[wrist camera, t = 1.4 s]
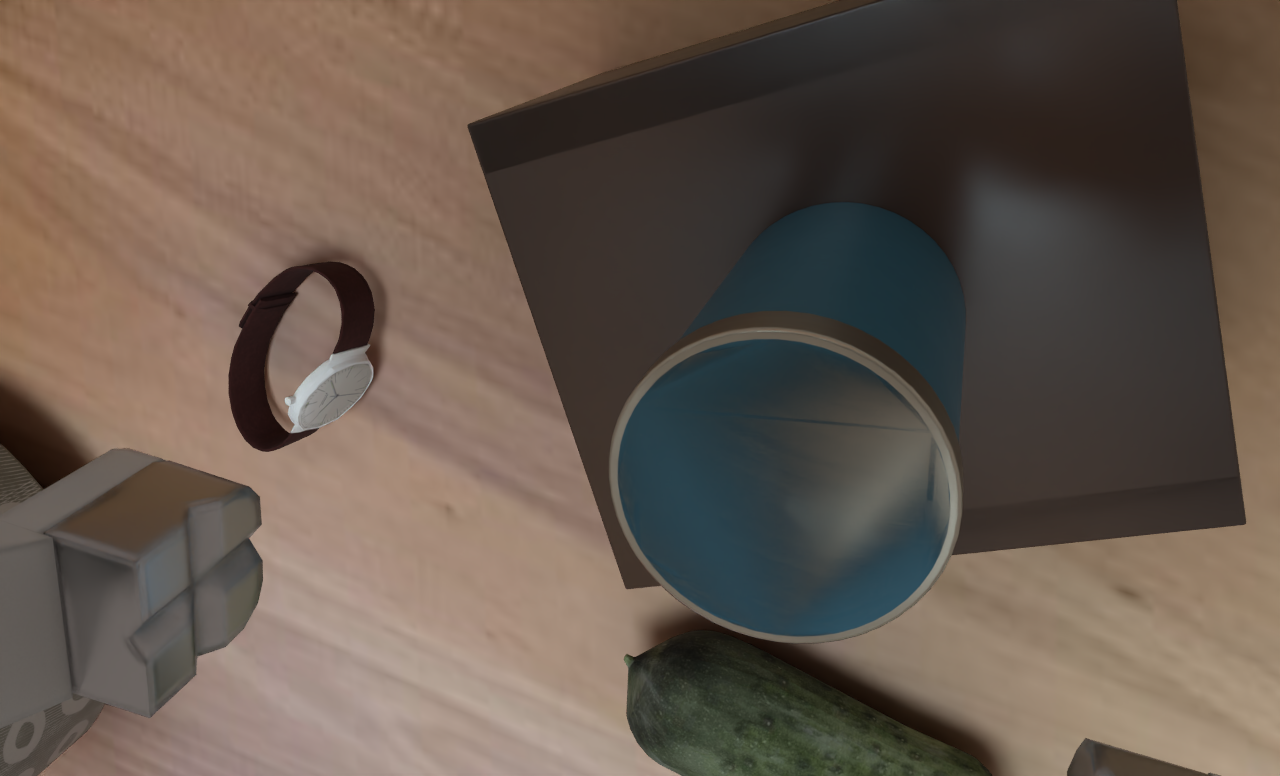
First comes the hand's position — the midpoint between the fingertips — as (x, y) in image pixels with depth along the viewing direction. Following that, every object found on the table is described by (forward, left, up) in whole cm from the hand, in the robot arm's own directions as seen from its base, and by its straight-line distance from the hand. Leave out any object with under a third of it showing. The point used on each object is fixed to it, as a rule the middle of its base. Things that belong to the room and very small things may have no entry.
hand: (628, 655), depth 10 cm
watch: (+20, +1, -23) cm, 30 cm away
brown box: (0, +1, -23) cm, 23 cm away
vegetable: (+6, +18, -23) cm, 30 cm away
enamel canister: (0, +1, -14) cm, 14 cm away
